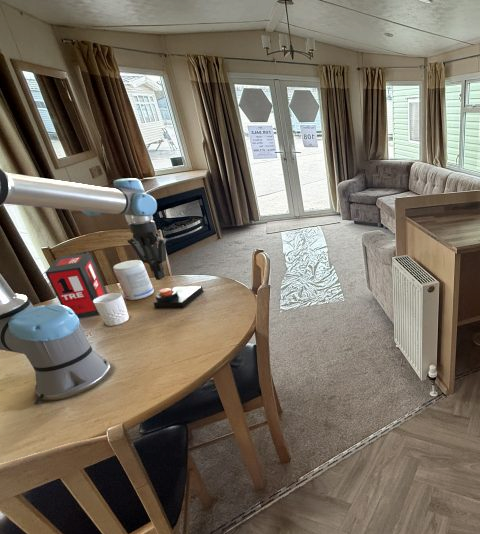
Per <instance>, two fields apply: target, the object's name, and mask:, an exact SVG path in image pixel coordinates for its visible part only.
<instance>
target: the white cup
mask: <svg viewBox="0 0 480 534" xmlns="http://www.w3.org/2000/svg"><path fill="white" fill-rule="evenodd" d="M93 303H94V305H95V307H96V309H97V311H98V312H99V316H100V318H101V319H102V321H103V323H104V325H106V326H110V327H112V326H113V327H114V326H118V325H121V324H124V323H126V322H128V320H129V319H130V316H129V312H128V308H127V305H126V303H125V300H124V297H123V294H122V293H121V292H111V293H108V294H105V295H102V296H99V297H97V298H96V299H94V300H93Z"/></svg>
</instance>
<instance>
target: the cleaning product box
mask: <svg viewBox="0 0 480 534" xmlns="http://www.w3.org/2000/svg"><path fill="white" fill-rule="evenodd" d="M44 274H45V275H46V277H47V279H48V281H49V284H50V285H51V287H52V289H53V291H54V293H55V295H56V298H57V299H58V301H59V303H60V305H63V306H67V307H69V308H71V309H72V310H73V311H74V313H75V315H77V317H78V318H79V319H83V318H88V317H93V316H94V317H95V316H98V315H99V316H100V314H99V312H98V311H97V309H96V307H95V305H94V303H93V300H94V299H96V298H97V297H99V296H102V295H105V294H109V293H108V290H107V288H106V286H105V283H104V282H103V279H102V276H101V274H100V272H99V270H98V267H97V265H96V263H95V260H94V258H93V256H92V253H91V252H86V253H85V252H84V253H78V254H69V255H62V256H58V257H57V259H55V261H54V262H53V263H52V264H51V265H50V266H49V267H48V269H47V270H46V271H45V272H44Z"/></svg>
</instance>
